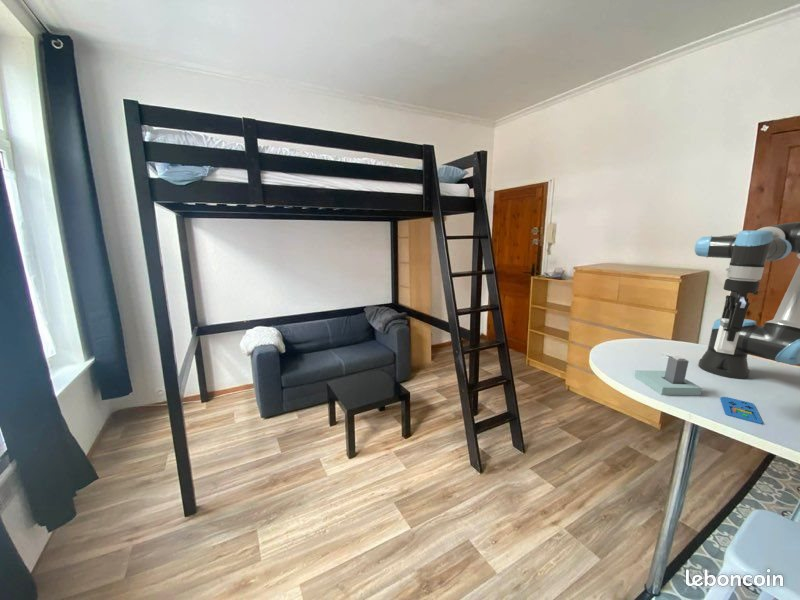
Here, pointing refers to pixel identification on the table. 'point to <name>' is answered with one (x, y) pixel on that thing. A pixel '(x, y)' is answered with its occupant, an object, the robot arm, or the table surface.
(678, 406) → the table surface
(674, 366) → the plug
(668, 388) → the outlet plate
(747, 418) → the handheld gaming device
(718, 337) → the block
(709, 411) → the table surface
